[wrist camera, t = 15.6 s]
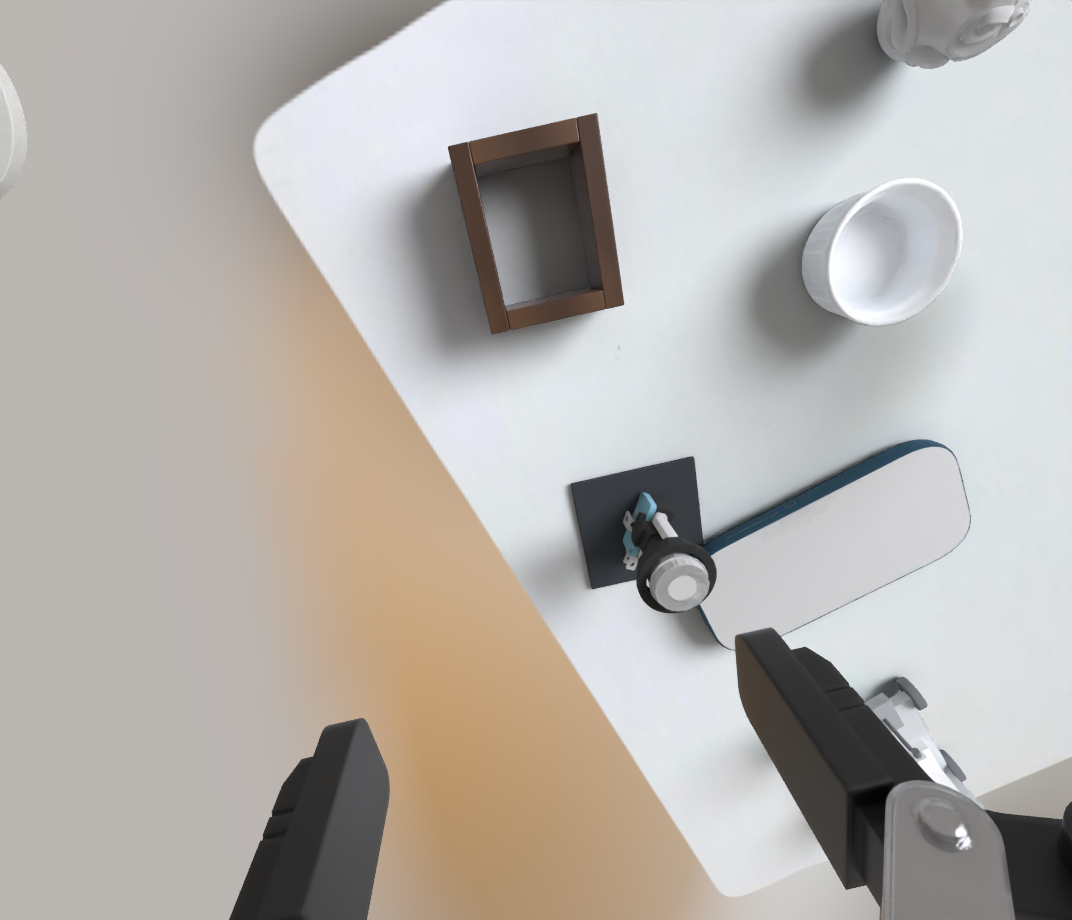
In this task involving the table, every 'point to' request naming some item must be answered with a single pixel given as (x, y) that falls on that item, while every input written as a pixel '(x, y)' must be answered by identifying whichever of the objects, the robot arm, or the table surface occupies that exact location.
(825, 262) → the ramekin
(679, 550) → the push button
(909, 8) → the frog figurine
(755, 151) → the table surface
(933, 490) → the external hard drive
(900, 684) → the toy car
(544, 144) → the holder
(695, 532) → the mat
